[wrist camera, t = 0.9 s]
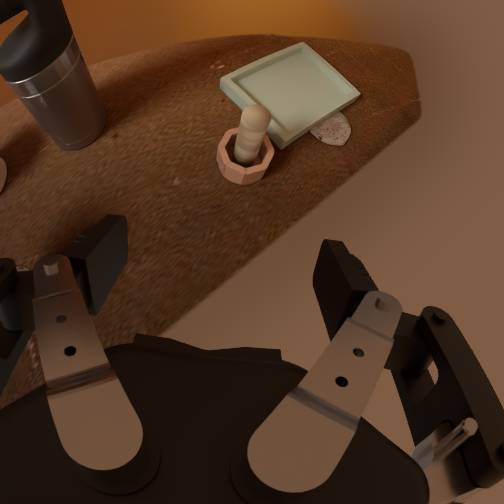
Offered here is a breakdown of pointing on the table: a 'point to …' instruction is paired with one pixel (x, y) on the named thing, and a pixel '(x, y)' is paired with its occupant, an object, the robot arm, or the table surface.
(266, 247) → the table surface
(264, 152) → the pin holder cup
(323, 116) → the sage tray
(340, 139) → the flatbread
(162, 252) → the table surface
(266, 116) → the beech pin
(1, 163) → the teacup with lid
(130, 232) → the table surface
